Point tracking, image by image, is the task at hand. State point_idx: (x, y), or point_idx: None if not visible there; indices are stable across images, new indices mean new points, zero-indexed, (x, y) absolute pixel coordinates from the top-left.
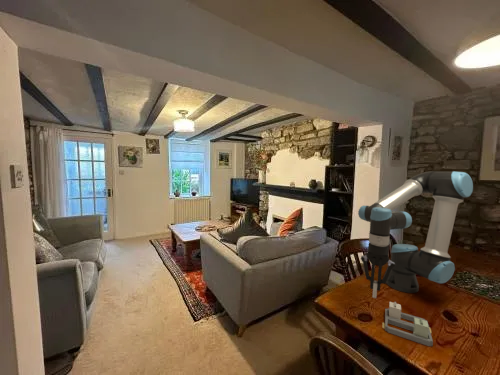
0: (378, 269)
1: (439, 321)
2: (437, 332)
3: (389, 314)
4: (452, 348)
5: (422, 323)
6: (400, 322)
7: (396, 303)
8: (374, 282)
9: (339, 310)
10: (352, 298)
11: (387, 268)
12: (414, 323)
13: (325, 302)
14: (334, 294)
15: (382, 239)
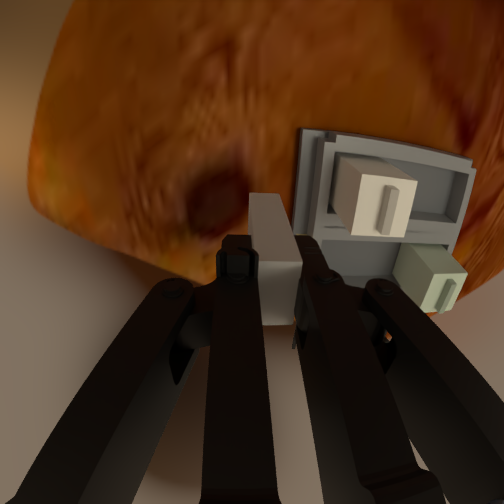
0: (323, 493)
1: (500, 97)
2: (476, 171)
3: (337, 212)
4: (476, 236)
5: (441, 310)
6: (373, 236)
7: (398, 178)
8: (263, 309)
9: (107, 215)
10: (138, 59)
11: (459, 480)
12: (419, 289)
13: (44, 191)
14: (52, 89)
15: None
